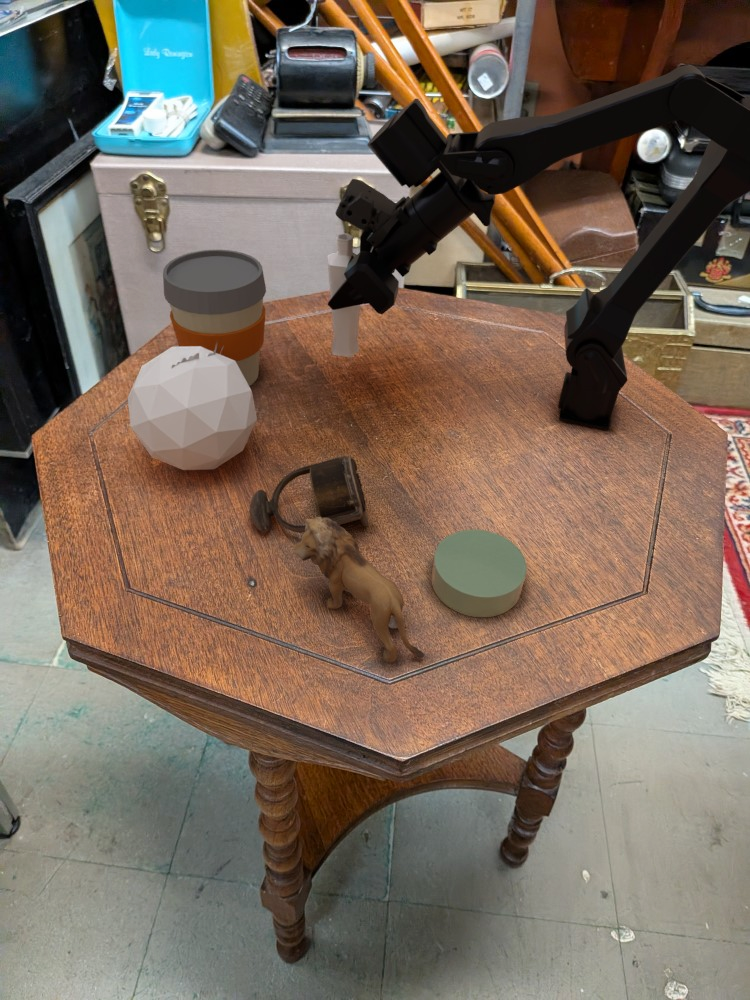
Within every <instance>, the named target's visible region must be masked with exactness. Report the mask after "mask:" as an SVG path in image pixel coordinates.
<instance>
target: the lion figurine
mask: <svg viewBox="0 0 750 1000" xmlns="http://www.w3.org/2000/svg"><path fill="white" fill-rule="evenodd" d="M305 521H306V524H305V525H304V526H305V532H303V534H302V535H301V536H302V537H301V540H300V541H299V542H298V543H297V544H295V545H294V546H293V548H292V551H293V553H294V554H295V555H296V556H297V558H299V559H300V560H301V562H306V561H307V560H310V562H311V563H312V564H314V565H316V566H318V567H319V570H320V572H321V574H322V575H323V576H324V577H325V578H326V579H327V580H328V585H329V591H330V593H331V596H332V597H330V598H328V599H327V601H326V606H327V609H330V610H337V609H339V608H341V607H342V605H343V596H342V593H343V591H345V592H347V593H350V594H351V595H352V596H353V597H354V598H355V599H357V600H358V601H360V602H361V603H364V604H366V605H369V613H370V614H369V615H370V618H371V621H372V625H373V628H374V630H375V632H376V634H377V636H378V637H379V639H380V640H381V642H382V643H383V645H384V647H385V648H386V649H384V650H383V653H382V657H383V660H384V661H385V662H386V663H393V662H395V660H397V658H398V656H399V655H398V650H397V645H396V642H394V640H393V639H392V636H391V632H390V629H397V630H398V633H399V636H400V639H401V642H402V644H403V646H404V647H405V648H406V649H407V650H408V651H409V652H410V653H411V654H412V655H413V656H414V658H418V659H424V658H425V656H426V655H425V653H424V652H423V651H422V650H421V649H419V648H418V647H417V646H414V645H413V644H411V643H410V642H409V640H408V636H407V632H406V627H405V622H404V616H403V607H404V605H405V601H404V596H403V594H402V592H401V591H400V589H399V588H398V586H397V584H396V583H395V582H394V581H393V580H391V579H390V578H388V577H386V576H384V575H383V574H382V573H381V572H380V571H379V570H378V569H377V568H376V567H375V566H374V565H373V563H371V562H370V561H368V559H366V558H365V557H364V556H363V554H362V552H361V551H360V547H359V545H358V542H357V540H356V539H354V538H353V535H352V534H351V533H349V532H348V531H346V529H345V528H344V527H343V526H341V525H338V523H337V522H335V521H332V520H331V519H329V518H322V517H320V516H316V517H311V518H310V519H308V518H306V519H305Z"/></svg>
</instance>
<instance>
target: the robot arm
mask: <svg viewBox="0 0 750 1000" xmlns="http://www.w3.org/2000/svg"><path fill="white" fill-rule="evenodd" d="M678 121H681V122H684V123H685V124H686V125H688V126H691V127H692V128H694V129H695V130H697V131H698V132H699V133H701V134H702V135H704V136H705V137H707V138H708V139H710V140H709V142H708V143H707V146H706V147H705V151H704V153H703V156H702V158H701V160H700V163H699V165H698V167H697V170H696V173H695V174H694V176H693V178H692V180H691V181H690V182H689V184H688V185H687V186H686V187H685V188H684V190H683V191H682V192H681V193H680V195H679V196H678V197H677V199H676V200H675V202H673V204H672V205H671V206H670V208H669V209H668V210H667V211H666V213H665V214H664V215H663V217H662V218H661V219H660V220H659V221H658V223H657V224H656V225H655V227H654V228H653V229H652V231H650V233H649V234H648V236H647V237H646V238H645V239H644V240H643V242H642V243H641V244H640V246H639V247H637V249H636V250H635V252H634V253H633V254H632V256H631V257H630V258H629V259H628V261H627V262H626V263H625V264H624V265H623V267H622V268H621V270H619V272H618V273H617V274H616V276H615V277H614V279H613V280H612V281H611V282H610V283H609V285H607V286H606V287H604V288H603V289H601V290H599V291H597V292H596V293H594V292H592V291H591V289H589V288H587V287H585V288H584V290H583V291H582V293H580V296H579V298H578V300H577V302H575V304H574V305H573V306H572V307H571V308H569V309H568V310H566V311H565V320H566V321H565V323H564V329H563V331H564V344H565V345H564V346H565V347H564V348H565V355H566V361H567V363H568V364H569V366H570V367H571V370H570V372H569V371H567V372H566V373H564V378H563V381H562V382H563V383H562V386H561V389H560V394H559V397H558V403H557V408H558V410H560V411H559V415H558V420H559V422H560V421H561V422H564V423H569V424H573V425H578V426H584V427H588V428H594V429H598V430H604V431H610V429H611V427H612V419H613V418H612V417H613V413H614V409H615V407H616V404H617V399H618V397H619V393H620V391H621V390H622V388H623V387H624V386H625V385H626V383H627V382H628V373H627V369H626V362H625V356H624V351H623V345H624V343H625V342H626V340H627V337H628V335H629V332H630V330H631V327H632V324H633V322H634V320H635V318H636V316H637V314H638V313H639V311H640V309H642V307H643V306H644V305H645V304H646V302H647V301H649V299H650V298H651V297H652V295H653V294H654V293H655V292H656V291H657V290H658V288H659V287H660V286H661V285H662V284H663V282H664V281H666V279H667V278H668V276H670V274H671V273H672V272H673V270H674V269H675V268H676V267H677V266H678V265H679V263H680V262H682V260H683V259H684V258H685V257H686V256H687V254H688V253H689V252H690V251H691V249H692V248H693V247H694V246H695V245H696V243H698V241H699V240H700V239H701V237H702V236H703V235H704V234H705V233H706V232H707V231H708V229H709V228H710V227H711V226H712V224H713V223H714V222H715V221H716V220H717V218H718V217H719V216H720V215H721V214H722V212H723V211H724V210H725V209H727V207H728V206H730V205H731V204H732V203H734V202H736V201H737V200H739V199H741V198H742V197H743V196H746V195H747V194H749V193H750V96H748V97H746V96H745V95H743V94H741V93H739V92H738V91H736V90H734V89H733V88H730V87H729V86H726V85H725V84H723V83H720V82H719V81H717V80H715V79H712V78H711V77H708V76H707V75H705V74H703V72H702V71H701V70H700V69H699V68H697V67H695V66H693V65H687V64H686V65H681V66H678V67H676V68H674V69H673V70H671V71H669V72H668V73H665V74H663V75H661V76H658V77H655V78H652V79H650V80H649V79H648V80H646V81H643V82H641V83H638V84H636V85H633V86H630V87H627V88H624V89H622V90H619V91H616V92H614V93H611V94H608V95H604V96H602V97H599V98H597V99H594V100H591V101H588V102H586V103H582V104H580V105H577V106H574V107H572V108H569V109H566V110H563V111H560V112H557V113H554V114H548V115H542V116H541V115H539V116H536V115H535V116H521V117H514V118H508V119H502V120H497V121H493V122H490V123H488V124H487V125H485V126H483V127H482V129H480V130H478V131H468V132H466V131H465V132H455V133H448V134H447V135H445V134H444V133H443V132H442V130H440V128H439V127H438V126H437V124H436V123H435V121H433V119H432V118H431V116H430V115H429V113H428V111H427V108H426V107H425V106H424V104H423V103H422V102H421V101H420V99H419V98H414V99H413V100H412V101H411V102H410V103H409V104H407V105H406V106H405V107H404V108H403V109H401V110H399V112H397V114H396V113H394V114H393V115H392V116H391V117H389V119H388V120H387V121H386V122H385V123H384V124H383V125H382V126H381V127H380V128H379V129H378V130H377V132H376V133H375V134H374V135H373V136H372V138H370V140H369V141H368V143H367V144H366V146H367V147H368V148H369V149H370V151H371V152H372V153H373V155H375V156H376V158H377V159H378V160H379V161H380V163H381V164H382V165H383V166H384V167H385V168H386V169H387V171H388V172H389V173H390V174H391V175H392V177H393V178H394V179H395V180H396V181H397V183H398V184H399V185H400V186H401V187H404V186H407V188H408V189H410V188H412V187H414V188H418V187H419V186H420V185H422V184H424V182H425V181H426V180H428V179H429V177H431V176H432V175H433V174H434V173H435V172H436V171H437V170H439V172H438V173H437V174H436V175H434V177H433V178H431V179H430V180H429V181H428V182H426V183H425V184H424V185H423V187H421V188H420V189H419V190H418V191H417V192H416V193H415V194H414V195H412V196H411V197H410V196H409V195H408V196H402V197H401V198H400V199H399V200H397V202H395V201H393V200H392V199H390V198H389V197H388V196H386V195H385V194H384V193H382V192H381V191H378V190H377V189H375V188H374V187H372V186H370V185H368V184H367V183H365V182H363V181H361V180H359V179H357V178H352V179H351V180H350V182H349V183H348V185H347V187H346V189H345V191H344V192H343V195H342V197H341V199H340V202H339V204H338V206H337V209H336V211H335V215H336V217H337V218H338V219H339V220H341V221H342V222H344V223H349V224H351V225H352V226H354V227H355V228H357V229H359V230H362V232H361V235H360V237H359V253H357V254H356V256H355V257H354V256H353V255H352V256H351V258H350V260H349V262H348V265H347V268H346V270H345V273H344V275H345V277H346V280H345V281H344V282H343V284H342V285H341V286H340V287H339V289H338V290H337V291H336V293H335V294H334V295H333V296H332V298H331V297H330V299H329V300H328V302H327V306H328V307H329V308H330V310H331V311H332V310H336V309H341V308H346V307H351V306H356V305H360V306H362V305H368V304H369V306H370V307H371V308H372V309H373V310H374V311H375V312H376V313H377V314H379V315H384V314H385V313H386V312H387V311H389V310H390V309H391V308H392V307H393V306H395V304H396V300H397V297H398V294H399V287H400V285H399V284H400V282H399V281H400V280H399V279H397V277H396V276H395V275H394V273H395V271H396V272H397V273H398V274H399V275H400V276H401V277H402V278H404V277H405V276H406V275H407V274H409V272H410V270H411V267H412V265H413V264H414V263H415V262H416V261H418V260H419V259H420V258H422V256H424V255H425V254H427V255H428V256H431V254H433V253H434V252H435V251H436V250H437V247H438V243H440V242H441V241H442V240H443V239H445V237H447V236H448V235H449V234H450V233H452V232H453V231H454V230H455V229H457V227H459V226H460V225H462V223H464V222H465V221H466V220H467V219H469V218H470V217H471V216H472V215H473V214H474V215H475V216H476V218H477V219H478V221H479V222H481V224H482V225H483V226H484V227H489V226H490V224H491V219H492V210H493V207H494V205H495V202H496V196H497V195H503V194H505V193H508V192H510V191H512V190H514V189H516V188H518V187H519V186H522V185H523V184H526V183H527V182H529V181H531V180H533V179H534V178H536V177H538V176H539V175H541V173H543V172H544V171H545V170H548V169H549V168H550V167H551V166H553V165H555V164H557V163H558V162H560V161H562V160H564V159H568V158H570V157H572V156H576V155H579V154H581V153H585V152H588V151H591V150H593V149H597V148H600V147H602V146H606V145H608V144H612V143H615V142H618V141H621V140H624V139H626V138H629V137H632V136H635V135H638V134H641V133H644V132H647V131H650V130H654V129H656V128H659V127H662V126H665V125H668V124H671V123H674V122H678Z"/></svg>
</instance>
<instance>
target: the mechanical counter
mask: <svg viewBox="0 0 750 1000" xmlns="http://www.w3.org/2000/svg"><path fill="white" fill-rule="evenodd" d="M357 471H358V466H357V463H356V461H355V459H354V458H352V457H351V456H349V455H348V456H345V455H343V456H338V457H334V458H330V459H327V460H324V461H320V462H316V463H313V464H309V465H306V466H301V467H299V468H296V469H294V470H293V471H291V472H289V473H288V474H286V475H285V476H284V477H283V478H282V479H281V480H280V481H279V482H278V484H277V485H276V486H275V488H274V491H273V493H272V497H271V499H270V500H269V498H268V494H267V491H265V490H264V489H258V490H257V491H255V493H254V494H253V495H252V498H251V500H250V503H249V504H250V505H249V516H250V519H251V523H253V525H254V526H255V528H256V529H257V530H259V531H260V532H263V533H265V532H268V531H269V530H270V528H271V521H272V520H271V519H272V517H275V519H276V521H277V522H278V523H279V524H280V525H281V526H282V527H283V528H285V529H286V530H289V531H291V532H294V533H301V534H302V533H303V534H304V533H305V526H306V525H295V524H292V523H289V522H288V521H286V520H285V519H283V518H282V517H281V514H280V511H279V499H280V496H281V493H282V492H283V490H284V489H285V487H286V486H287V485H288V484H289V483H291V482H293V480H295V479H296V478H298V477H300V476H305V475H309V478H310V486H311V491H312V494H313V499H314V503H315V506H316V507H315V508H316V509H317V511H318V515H319V517H322V518H329V519H331V520H332V521H335V522H337V523H338V525H339V526H341V525H343V524H348V523H352V522H355V521H361V524H362V526H364V527H368V525H369V518H368V513H367V508H366V505H367V504H366V499H365V494H364V490H363V487H362V483H361V482H362V481H361V477H360V475H359V473H358V472H357Z"/></svg>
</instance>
